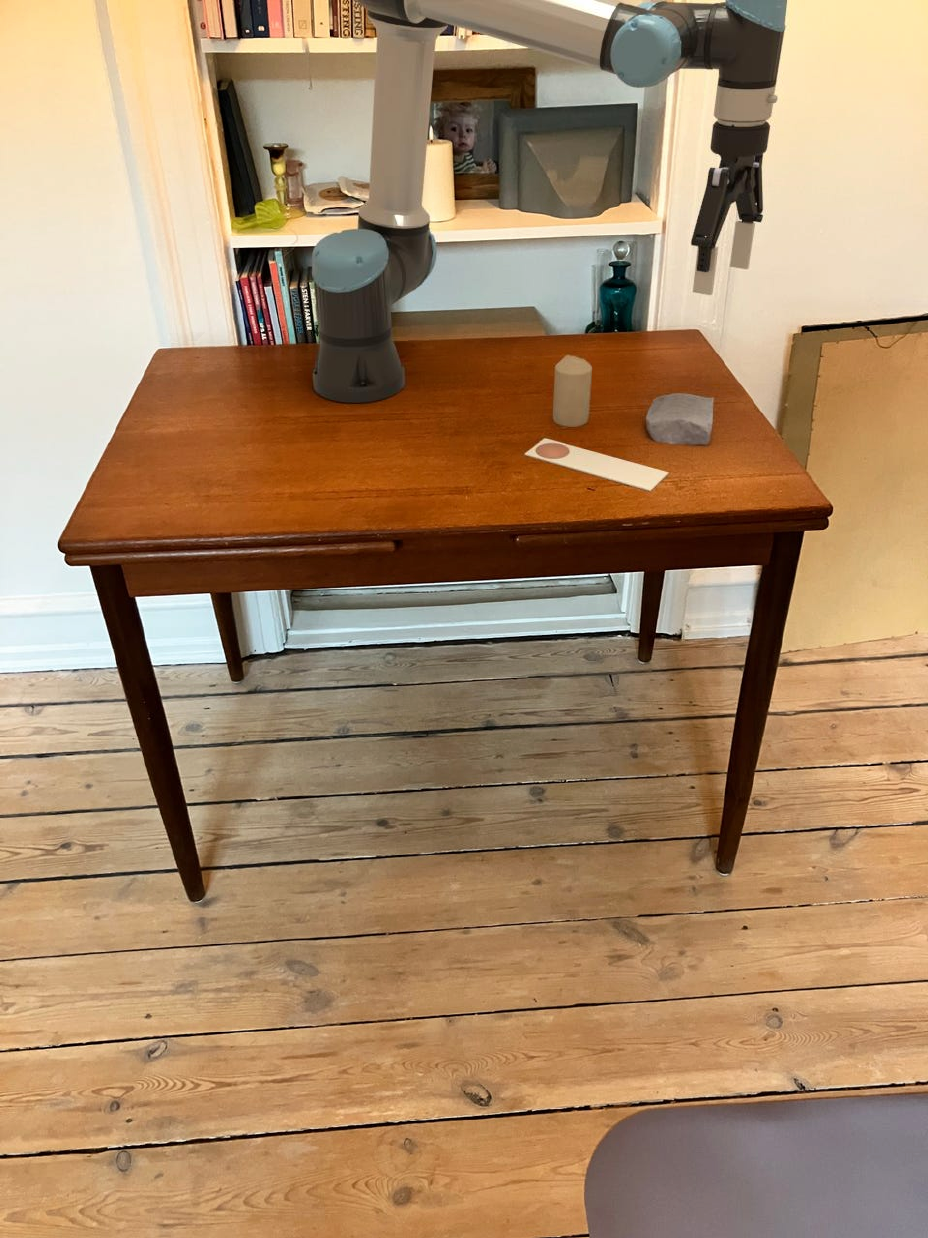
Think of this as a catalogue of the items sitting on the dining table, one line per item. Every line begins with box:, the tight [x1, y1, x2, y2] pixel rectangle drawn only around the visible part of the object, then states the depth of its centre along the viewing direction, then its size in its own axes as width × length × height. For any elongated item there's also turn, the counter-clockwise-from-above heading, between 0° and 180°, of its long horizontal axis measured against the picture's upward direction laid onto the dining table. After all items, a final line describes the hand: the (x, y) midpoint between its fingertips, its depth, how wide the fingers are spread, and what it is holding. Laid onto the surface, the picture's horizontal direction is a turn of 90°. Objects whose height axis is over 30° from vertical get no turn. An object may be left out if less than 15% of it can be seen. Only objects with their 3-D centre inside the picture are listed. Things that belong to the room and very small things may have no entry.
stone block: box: [645, 392, 715, 446], centre depth 152 cm, size 12×5×10 cm
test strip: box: [524, 438, 670, 492], centre depth 143 cm, size 20×6×1 cm, turn 57°
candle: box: [552, 354, 593, 428], centre depth 152 cm, size 6×6×10 cm
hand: (721, 279), depth 146 cm, fingers open, 13 cm apart
